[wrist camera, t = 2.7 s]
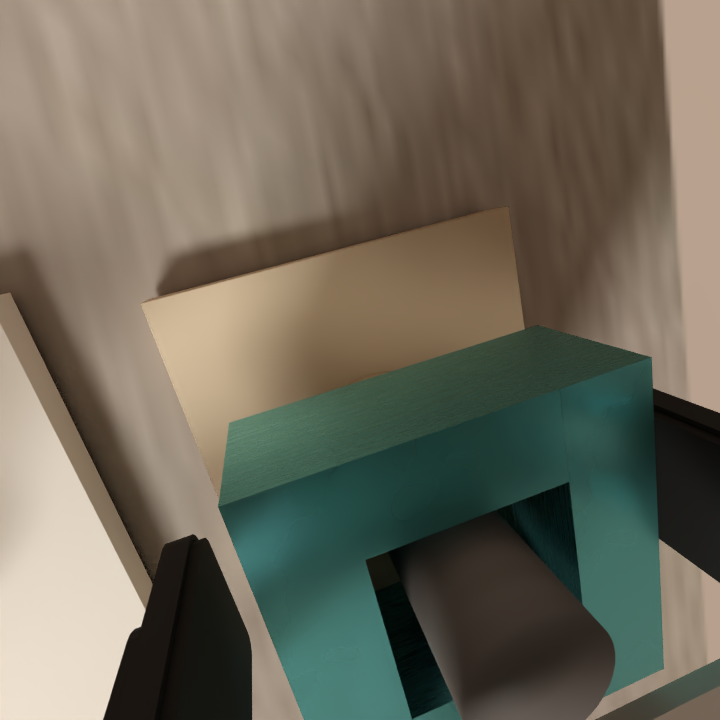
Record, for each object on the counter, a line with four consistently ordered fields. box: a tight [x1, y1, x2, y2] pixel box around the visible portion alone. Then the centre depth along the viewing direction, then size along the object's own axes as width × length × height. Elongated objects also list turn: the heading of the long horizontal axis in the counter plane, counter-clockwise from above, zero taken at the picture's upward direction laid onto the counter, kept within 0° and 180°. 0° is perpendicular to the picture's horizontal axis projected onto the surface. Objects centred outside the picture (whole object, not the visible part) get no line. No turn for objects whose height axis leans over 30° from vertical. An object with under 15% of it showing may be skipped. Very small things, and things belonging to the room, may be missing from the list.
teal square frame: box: [218, 325, 664, 720], centre depth 9 cm, size 7×7×3 cm
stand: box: [141, 206, 615, 720], centre depth 10 cm, size 12×10×8 cm
